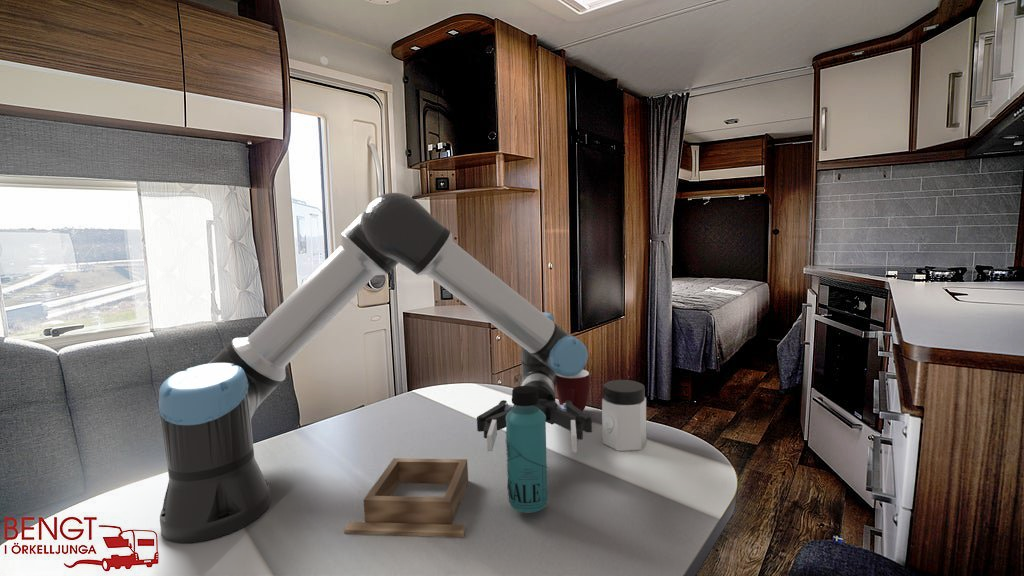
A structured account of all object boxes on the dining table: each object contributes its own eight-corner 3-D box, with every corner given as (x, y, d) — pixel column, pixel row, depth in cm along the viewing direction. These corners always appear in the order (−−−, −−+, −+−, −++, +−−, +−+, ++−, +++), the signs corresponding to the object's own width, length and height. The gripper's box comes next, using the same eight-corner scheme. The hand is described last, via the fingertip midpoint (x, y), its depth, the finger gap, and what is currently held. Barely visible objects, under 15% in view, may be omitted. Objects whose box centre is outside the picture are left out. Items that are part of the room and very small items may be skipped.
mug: (592, 424, 108) (591, 381, 106) (556, 424, 108) (555, 381, 107) (589, 407, 118) (588, 368, 117) (556, 407, 119) (555, 368, 118)
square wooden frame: (344, 533, 71) (342, 508, 71) (382, 479, 87) (381, 458, 86) (463, 537, 70) (462, 511, 69) (481, 481, 85) (480, 459, 85)
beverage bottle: (538, 495, 80) (535, 378, 77) (556, 517, 74) (553, 391, 71) (501, 504, 77) (497, 384, 75) (517, 528, 71) (512, 397, 69)
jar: (594, 439, 100) (593, 384, 99) (623, 430, 104) (622, 376, 103) (625, 456, 92) (624, 396, 91) (655, 445, 97) (655, 387, 95)
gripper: (599, 415, 97) (610, 467, 76) (477, 415, 100) (456, 465, 79) (598, 379, 96) (610, 421, 75) (475, 380, 99) (453, 420, 78)
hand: (531, 443), depth 77 cm, fingers open, 13 cm apart
